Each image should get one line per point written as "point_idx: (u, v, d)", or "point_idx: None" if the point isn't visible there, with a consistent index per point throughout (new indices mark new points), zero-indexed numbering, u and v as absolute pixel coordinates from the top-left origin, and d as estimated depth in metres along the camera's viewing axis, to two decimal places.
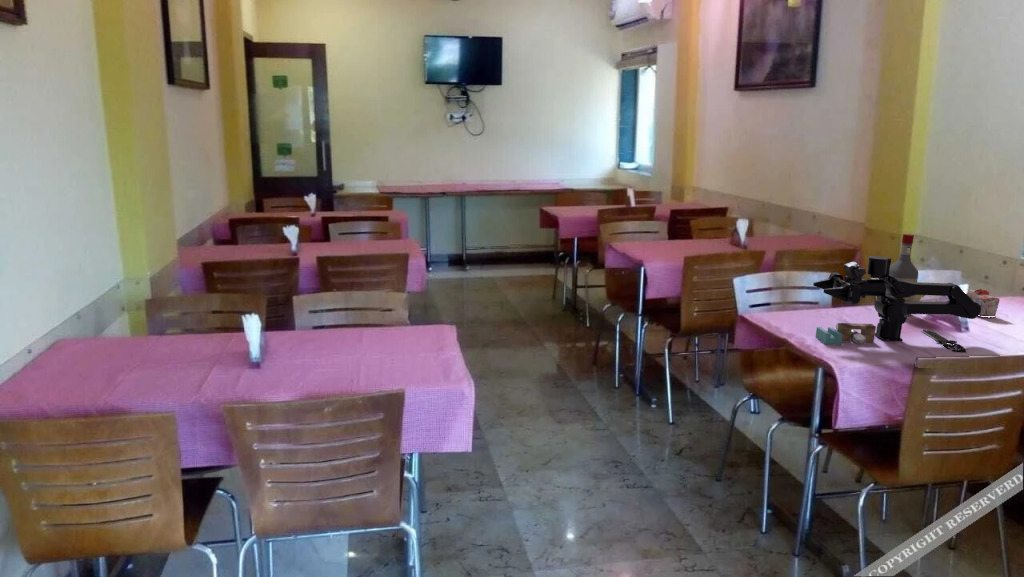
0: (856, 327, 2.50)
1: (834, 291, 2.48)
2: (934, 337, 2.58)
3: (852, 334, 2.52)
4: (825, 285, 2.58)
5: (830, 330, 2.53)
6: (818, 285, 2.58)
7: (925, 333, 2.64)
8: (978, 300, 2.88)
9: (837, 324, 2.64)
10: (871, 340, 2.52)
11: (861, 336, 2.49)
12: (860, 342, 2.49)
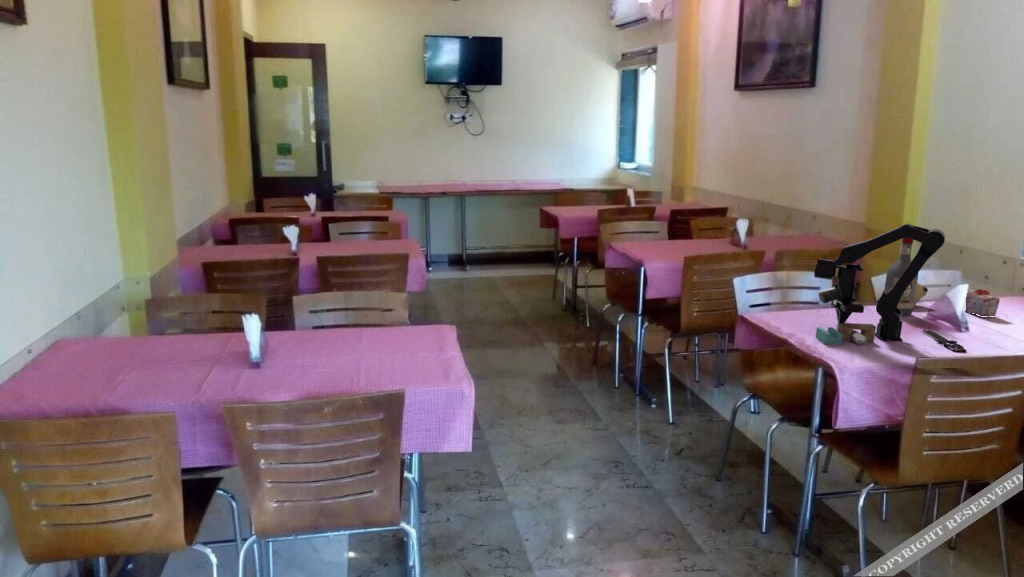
0: (856, 327, 2.50)
1: (842, 318, 2.63)
2: (934, 337, 2.58)
3: (852, 335, 2.51)
4: None
5: (830, 330, 2.53)
6: None
7: (925, 333, 2.64)
8: (978, 300, 2.88)
9: (837, 325, 2.63)
10: (871, 340, 2.52)
11: (861, 336, 2.47)
12: (861, 342, 2.48)
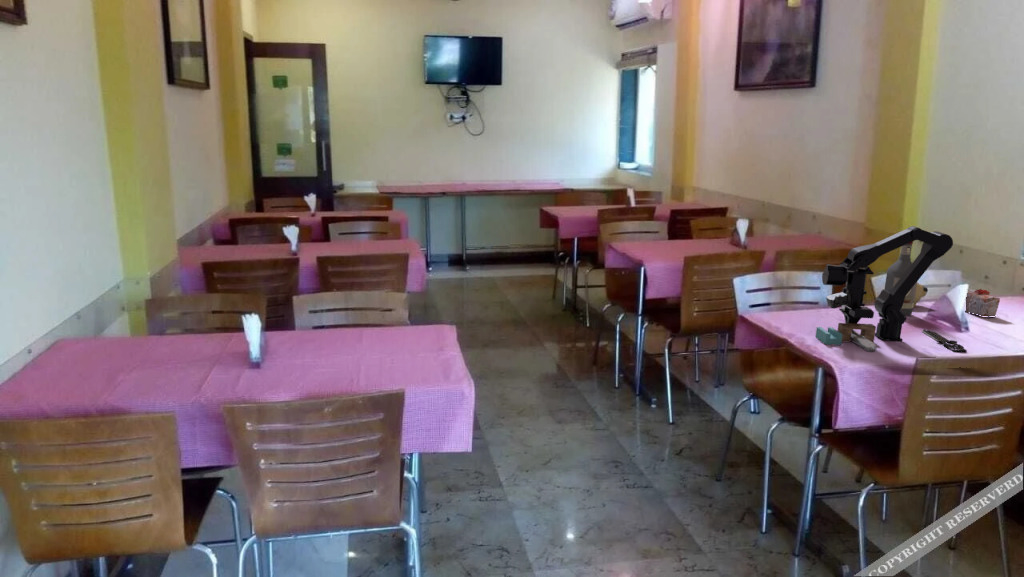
0: (856, 327, 2.50)
1: None
2: (934, 337, 2.58)
3: (861, 342, 2.44)
4: None
5: (830, 330, 2.53)
6: None
7: (925, 333, 2.64)
8: (978, 300, 2.88)
9: None
10: (871, 340, 2.52)
11: (871, 343, 2.41)
12: (871, 350, 2.41)
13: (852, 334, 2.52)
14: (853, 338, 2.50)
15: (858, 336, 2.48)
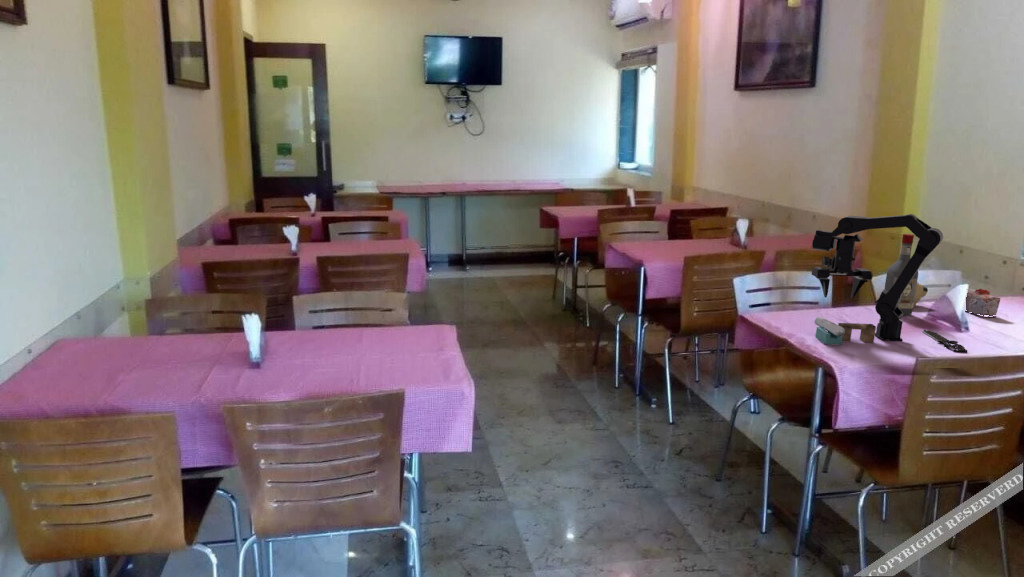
0: (856, 327, 2.50)
1: (823, 288, 2.63)
2: (935, 337, 2.58)
3: (831, 326, 2.46)
4: (855, 287, 2.63)
5: None
6: (852, 293, 2.63)
7: (926, 333, 2.63)
8: (979, 300, 2.88)
9: (816, 319, 2.58)
10: (871, 340, 2.52)
11: (840, 327, 2.43)
12: (839, 334, 2.43)
13: (822, 320, 2.54)
14: (823, 324, 2.52)
15: (828, 322, 2.50)
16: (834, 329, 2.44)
